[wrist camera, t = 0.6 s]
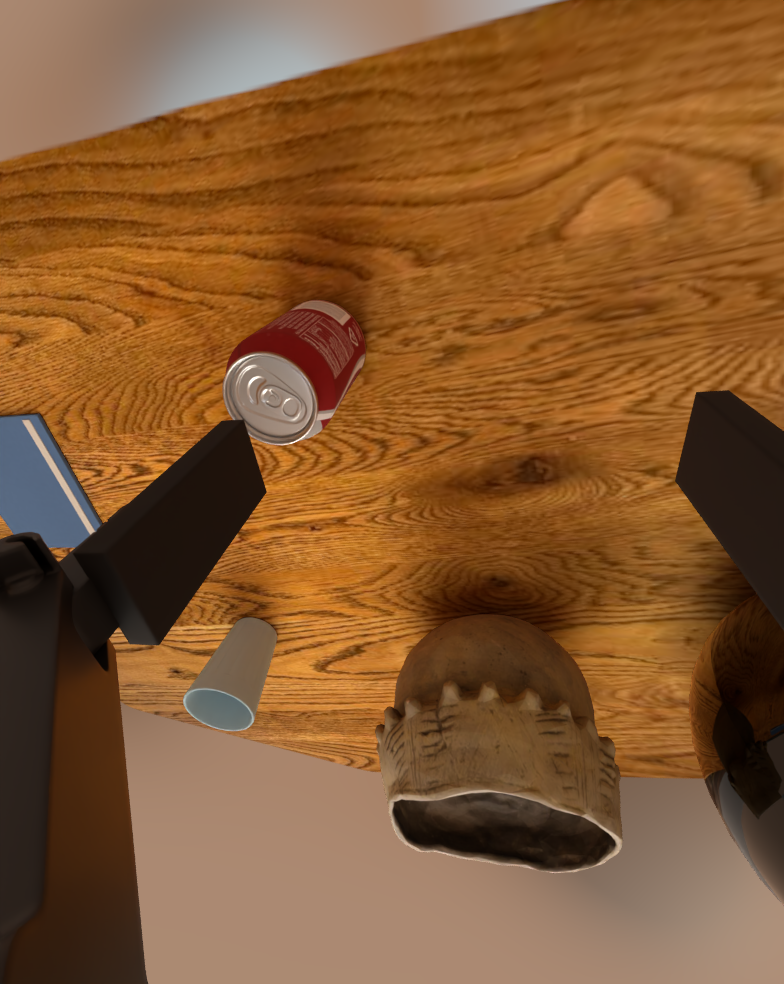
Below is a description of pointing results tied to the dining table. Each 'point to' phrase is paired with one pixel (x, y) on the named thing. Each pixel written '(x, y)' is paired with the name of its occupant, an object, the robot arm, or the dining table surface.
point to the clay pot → (499, 751)
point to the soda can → (294, 372)
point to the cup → (233, 677)
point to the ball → (744, 733)
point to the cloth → (41, 485)
